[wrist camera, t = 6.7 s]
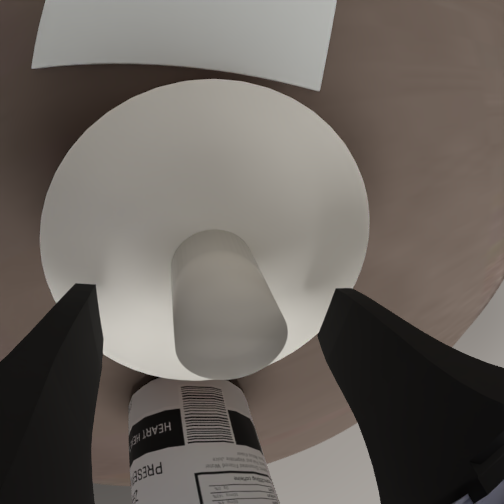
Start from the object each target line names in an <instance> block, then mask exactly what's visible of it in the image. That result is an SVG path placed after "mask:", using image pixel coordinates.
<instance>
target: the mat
mask: <svg viewBox="0 0 504 504" xmlns="http://www.w3.org/2000/svg"><path fill="white" fill-rule="evenodd" d="M336 2H337V0H46V1H45V5H44V8H43V12H42V16H41V20H40V24H39V29H38V33H37V38H36V43H35V48H34V54H33V60H32V67H31V69H39V68H48V67H59V66H72V65H92V64H140V65H161V66H175V67H186V68H196V69H204V70H212V71H220V72H226V73H233V74H239V75H245V76H251V77H256V78H261V79H266V80H271V81H276V82H280V83H285V84H289V85H293V86H297V87H302V88H305V89H309V90H313V91H320V87H321V82H322V77H323V72H324V67H325V62H326V57H327V51H328V46H329V41H330V35H331V30H332V24H333V19H334V13H335V7H336Z"/></svg>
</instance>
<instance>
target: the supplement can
mask: <svg viewBox="0 0 504 504" xmlns="http://www.w3.org/2000/svg"><path fill="white" fill-rule="evenodd" d="M129 460H130V478H131V491H132V503H133V504H280V502H279V500H278V497H277V494H276V491H275V488H274V485H273V482H272V479H271V476H270V473H269V470H268V467H267V464H266V461H265V458H264V455H263V452H262V448H261V445H260V442H259V439H258V436H257V433H256V429H255V426H254V423H253V420H252V416H251V413H250V410H249V406H248V403H247V400H246V398H245V396H244V394H243V392H242V390H241V389H240V388H238V387H237V386H235V385H234V384H232V383H231V382H229V381H227V380H202V381H190V380H175V379H167V378H162V377H160V378H157V379H155V380H152V381H150V382H149V383H148V384H146V385H144V386H143V387H142V388H140V389H139V390H138V391H137V392H136V393H135V394H133V395H132V398H131V401H130V404H129Z"/></svg>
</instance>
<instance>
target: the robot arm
mask: <svg viewBox="0 0 504 504" xmlns="http://www.w3.org/2000/svg"><path fill="white" fill-rule="evenodd" d="M318 339H319V342H320V345H321V348H322V351H323V354H324V356H325V359H326V362H327V364H328V366H329V368H330V370H331V372H332V374H333V376H334V377H335V379H336V381H337V383H338V385H339V387H340V389H341V391H342V393H343V395H344V396H345V398H346V400H347V402H348V404H349V406H350V408H351V410H352V412H353V414H354V416H355V418H356V420H357V422H358V424H359V427H360V430H361V432H362V435H363V438H364V440H365V443H366V446H367V449H368V452H369V456H370V459H371V462H372V465H373V469H374V473H375V477H376V481H377V485H378V490H379V495H380V501H381V504H504V368H502V367H498V366H495V365H492V364H489V363H486V362H484V361H481V360H479V359H476V358H474V357H471V356H469V355H466V354H464V353H462V352H460V351H458V350H456V349H454V348H452V347H450V346H448V345H446V344H444V343H442V342H440V341H438V340H436V339H434V338H433V337H431V336H429V335H428V334H426V333H424V332H423V331H421V330H419V329H418V328H416V327H414V326H413V325H411V324H409V323H408V322H406V321H405V320H403V319H402V318H400V317H398V316H397V315H395V314H394V313H392V312H391V311H389V310H388V309H386V308H385V307H383V306H381V305H380V304H378V303H377V302H375V301H373V300H372V299H370V298H369V297H367V296H365V295H363V294H362V293H360V292H358V291H356V290H354V289H352V288H336V289H335V291H334V294H333V297H332V300H331V302H330V305H329V308H328V310H327V313H326V315H325V318H324V321H323V323H322V326H321V328H320V331H319V333H318ZM103 342H104V338H103V332H102V326H101V320H100V313H99V306H98V299H97V291H96V284H79V283H75V284H74V285H73V286H72V287H71V288H70V289H69V290H68V291H67V293H66V294H65V295H64V296H63V297H62V298H61V299H60V300H59V301H58V302H57V303H56V304H55V306H54V307H53V308H52V309H51V310H50V311H49V312H48V313H47V314H46V315H45V316H44V318H43V319H42V320H41V321H40V322H39V323H38V324H37V325H36V326H35V327H34V328H33V330H32V331H31V332H30V333H29V334H28V335H27V336H26V337H25V338H24V339H23V340H22V341H21V342H20V343H19V344H18V345H17V346H16V347H15V348H14V349H13V350H12V351H11V352H10V353H9V354H8V355H7V356H6V357H5V358H4V359H3V360H2V361H1V362H0V504H95V503H94V494H93V482H92V464H91V442H92V430H93V422H94V414H95V407H96V401H97V394H98V388H99V382H100V376H101V370H102V356H103Z"/></svg>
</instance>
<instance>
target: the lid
mask: <svg viewBox="0 0 504 504" xmlns="http://www.w3.org/2000/svg"><path fill="white" fill-rule="evenodd" d="M369 222H370V217H369V206H368V198H367V194H366V190H365V185H364V181H363V179H362V176H361V174H360V171H359V169H358V166H357V164H356V162H355V160H354V158H353V156H352V155H351V153H350V151H349V150H348V148H347V146H346V145H345V143H344V142H343V141H342V140H341V138H340V137H339V136H338V135H337V134H336V132H335V131H334V130H333V129H332V128H331V127H330V126H329V125H328V124H327V123H326V122H325V121H324V120H323V119H321V118H320V117H319V116H318V115H317V114H316V113H315V112H313V111H312V110H310V109H309V108H307V107H306V106H304V105H303V104H301V103H299V102H298V101H296V100H295V99H293V98H291V97H289V96H286V95H284V94H282V93H279V92H277V91H275V90H272V89H270V88H267V87H263V86H259V85H255V84H251V83H247V82H243V81H235V80H223V79H202V80H189V81H182V82H178V83H173V84H169V85H165V86H161V87H157V88H154V89H152V90H149V91H147V92H144V93H142V94H139V95H137V96H135V97H132V98H130V99H129V100H127V101H125V102H123V103H122V104H120V105H118V106H117V107H115V108H114V109H112V110H110V111H109V112H107V113H106V114H105V115H103V116H102V117H101V118H100V119H99V120H97V121H96V122H95V123H94V124H93V125H92V126H90V127H89V128H88V129H87V130H86V131H85V132H84V133H83V134H82V135H81V137H80V138H79V139H78V140H77V141H76V142H75V144H74V145H73V146H72V147H71V148H70V150H69V151H68V152H67V154H66V156H65V157H64V159H63V161H62V162H61V164H60V166H59V167H58V169H57V171H56V172H55V175H54V177H53V179H52V182H51V184H50V187H49V189H48V192H47V194H46V198H45V202H44V207H43V211H42V216H41V226H40V250H41V260H42V265H43V269H44V273H45V277H46V281H47V283H48V286H49V288H50V291H51V293H52V296H53V298H54V300H55V302H56V303H57V302H58V301H59V300H60V299H61V298H62V297H63V296H64V295H65V294H66V293H67V291H68V290H69V289H70V288H71V287H72V286H73V285H74V284H75V283H79V284H96V291H97V299H98V306H99V313H100V320H101V326H102V332H103V338H104V342H103V354H104V355H106V356H107V357H109V358H111V359H112V360H114V361H116V362H118V363H120V364H122V365H124V366H126V367H128V368H131V369H133V370H136V371H139V372H142V373H145V374H148V375H153V376H157V377H162V378H167V379H175V380H190V381H202V380H229V379H236V378H241V377H245V376H248V375H251V374H253V373H255V372H257V371H259V370H261V369H263V368H264V367H266V366H268V365H270V364H272V363H274V362H276V361H278V360H280V359H282V358H284V357H285V356H287V355H289V354H291V353H292V352H294V351H296V350H297V349H298V348H300V347H301V346H303V345H304V344H305V343H307V342H308V341H309V340H311V339H312V338H313V337H314V336H315V335H316V334H317V333H318V332H319V331H320V328H321V326H322V323H323V321H324V318H325V315H326V313H327V310H328V308H329V305H330V302H331V300H332V297H333V294H334V291H335V289H336V288H352V289H353V287H354V285H355V283H356V280H357V278H358V276H359V274H360V271H361V268H362V265H363V262H364V258H365V255H366V250H367V244H368V239H369Z"/></svg>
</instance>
